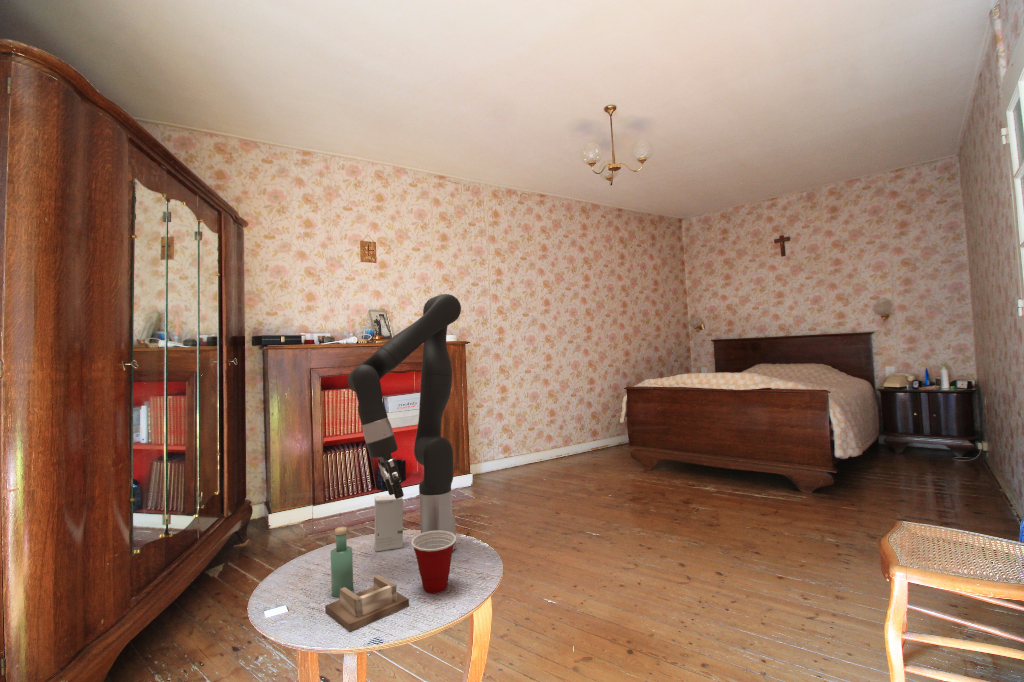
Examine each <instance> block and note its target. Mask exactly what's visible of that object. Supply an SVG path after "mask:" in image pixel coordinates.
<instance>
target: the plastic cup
mask: <svg viewBox="0 0 1024 682" xmlns="http://www.w3.org/2000/svg"><path fill="white" fill-rule="evenodd" d="M455 542H456V543H457V535H456V536H455V535H454V534H453V533H451V532H448V531H441V530H438V531H429V532H424V533H421V532H420V533H419V534H417V535H416V536H414V537H413V538H412V539H411V546H412V547H413V550H414V553H415V556H416V562H417V567H418V571H419V576H420V579H421V584H422V588H423V591H424V592H425V593H427V594H439V593H441V592H442V593H443V592H444V591H446V590H447V589H448V585H449V579H450V578H449V577H450V571H451V565H452V564H451V563H452V554H453V552H454V550H453V546H454V543H455ZM452 551H453V552H452Z"/></svg>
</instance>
